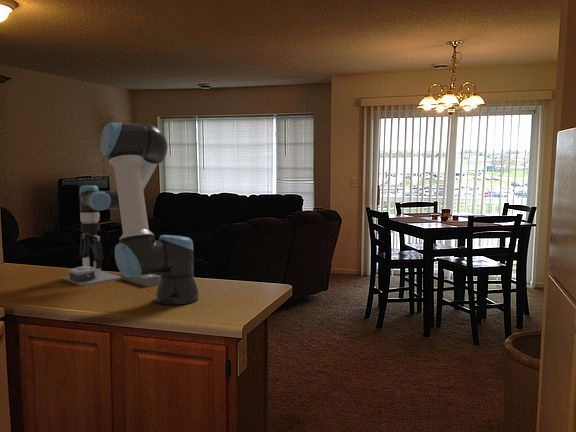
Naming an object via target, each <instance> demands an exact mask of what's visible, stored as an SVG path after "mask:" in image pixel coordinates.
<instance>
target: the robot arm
mask: <svg viewBox="0 0 576 432" xmlns="http://www.w3.org/2000/svg"><path fill="white" fill-rule="evenodd" d="M167 142H168V141H167V138H166V136H165V135H164V133H163V132H162V130H160V128H158V127H156V126H155V125H152V124H147V123H144V124H143V123H133V122H132V123H129V122H121V121H119V122H108V123H107V124H105V126H104V128H103V130H102V133H101V138H100V152H101V154H102V155H103V156H104V157H107V158H108V159H107V160H108V163H109V164H110V165H112V166H113V167H114V175H115V181H116V182H115V183H116V190H100V191H99V187H98V185H81V186H80V187H79V193H78V196H79V210H80V211H79V217H80V220H79V221H80V222H81V223H80V232H82V233H80V241H79V242H80V244H79V256H81V258H82V266H90V265H91V264H90V250H91V251H92V255H93V267H94V276H95V277H96V276H101V271H102V262H101V261H103V260H104V259H105V257H104V252H103V251H104V250H103V244H102V235H98V232H99V231H101V225H100V223H101V222H99V221H100V217H101V214H100V211H105V210H119V212H120V213H119V214H120V221H121V229H122V235H121V236H120V237H119V241H118V243H117V244H116V245H115V247H114V259H115V264H116V266H117V268H118V271H119V272H120V274H121V273H122V274H123V275H124V276H126V277H135V276H136V277H139V276H144V275H151V274H153V275H157V274H160V283H159V285H157V290H156V293H155V302H157V303H158V304H163V305H185V304H191V303H194V302H196V301H198V300H199V297H200V295H199V294H200V293H199V289H198V286H197V284H196V281H195V277H194V251H195V250H194V242H193V239H191V238H190V237H187V236H182V235H172V234H171V235H170V234H162V235H160V236H159V238H158V239H155V234H154V233H153V232H152V231H150V228H149V221H148V215H147V206H146V199H145V193H144V190H145V189H146V186H147V184H148V183H149V181H150V179H151V177H152V175H153V173H154V172H155V170H156V168H157V166H158V165H160V164H161V163H162V162H163V161H164V160H165V157H166V156H167V153H168V143H167ZM90 267H91V266H90Z"/></svg>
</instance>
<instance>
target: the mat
mask: <svg viewBox="0 0 576 432" xmlns="http://www.w3.org/2000/svg"><path fill="white" fill-rule="evenodd" d="M61 279H62V280H63V281H66V282H70V283H71V284H72V283H73V284H75V285H78V286H81V287H82V286H88V285H95V284H99V283H104V282H111V281H116V280H122V279H121V276H119V275H116V274H113V273H108V272H107V271H106V272H105V271H102V270H101V276H97V278H93V279H88V280H84V281H77V280H74V279H71V278H70V275H68V276H63V277H61Z"/></svg>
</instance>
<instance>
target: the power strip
mask: <svg viewBox="0 0 576 432" xmlns="http://www.w3.org/2000/svg"><path fill="white" fill-rule="evenodd" d="M120 277H121V279H120V280H123V281H126V282H130V283H132V284H136V285H140V286H142V287H146V288H148V287H153V286H159V283H160V279H161V275H157V274H151V275H144V276H139V277H136V276H135V277H126V276H124V275H123V274H122V273H121V272H120Z"/></svg>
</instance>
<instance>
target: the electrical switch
mask: <svg viewBox="0 0 576 432" xmlns="http://www.w3.org/2000/svg"><path fill="white" fill-rule="evenodd" d="M67 273H69V276H70V278H71V279H74V280H77V281H84V280H88V279H93V278H97V276H96V277H95V276H94V266H83V265H82V266H77V267H74V268H69V269H67Z"/></svg>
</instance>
